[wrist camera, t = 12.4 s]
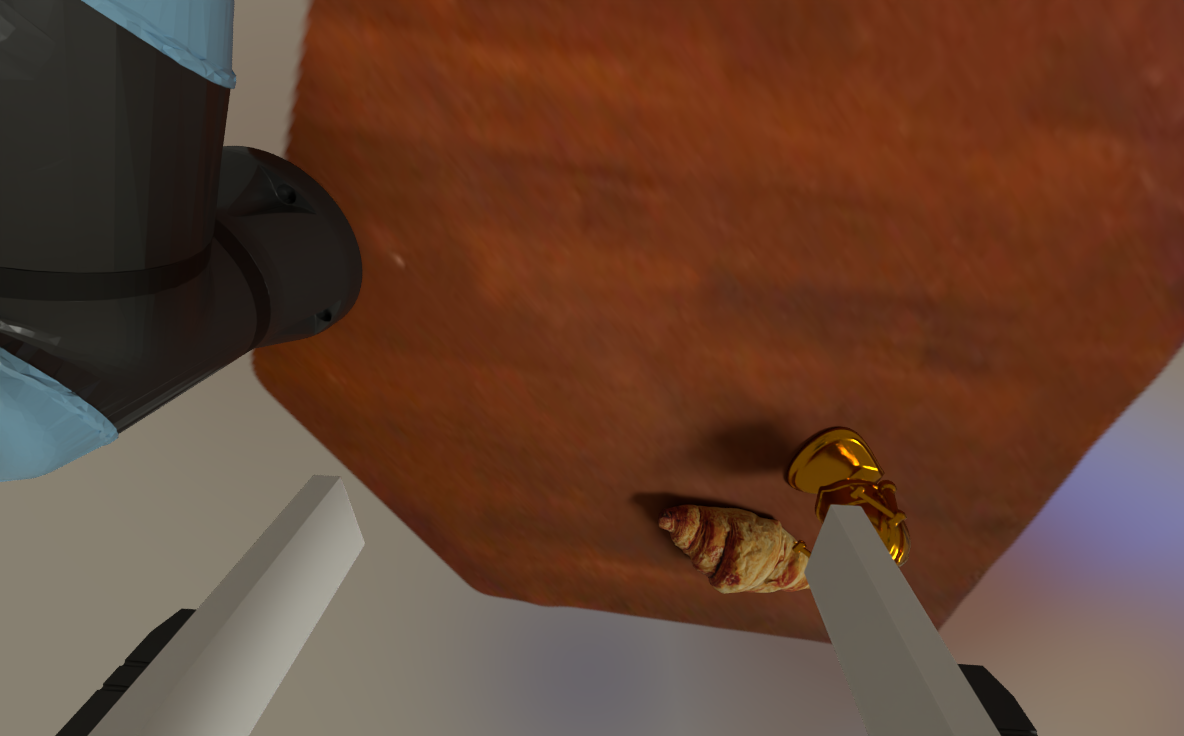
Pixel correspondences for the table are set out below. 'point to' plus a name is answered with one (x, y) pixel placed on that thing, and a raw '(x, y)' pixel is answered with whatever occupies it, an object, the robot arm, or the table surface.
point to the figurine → (849, 486)
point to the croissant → (736, 548)
